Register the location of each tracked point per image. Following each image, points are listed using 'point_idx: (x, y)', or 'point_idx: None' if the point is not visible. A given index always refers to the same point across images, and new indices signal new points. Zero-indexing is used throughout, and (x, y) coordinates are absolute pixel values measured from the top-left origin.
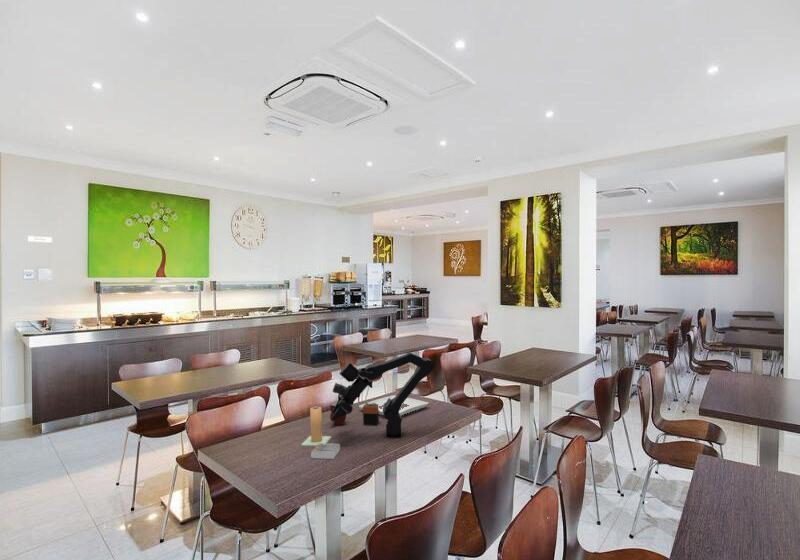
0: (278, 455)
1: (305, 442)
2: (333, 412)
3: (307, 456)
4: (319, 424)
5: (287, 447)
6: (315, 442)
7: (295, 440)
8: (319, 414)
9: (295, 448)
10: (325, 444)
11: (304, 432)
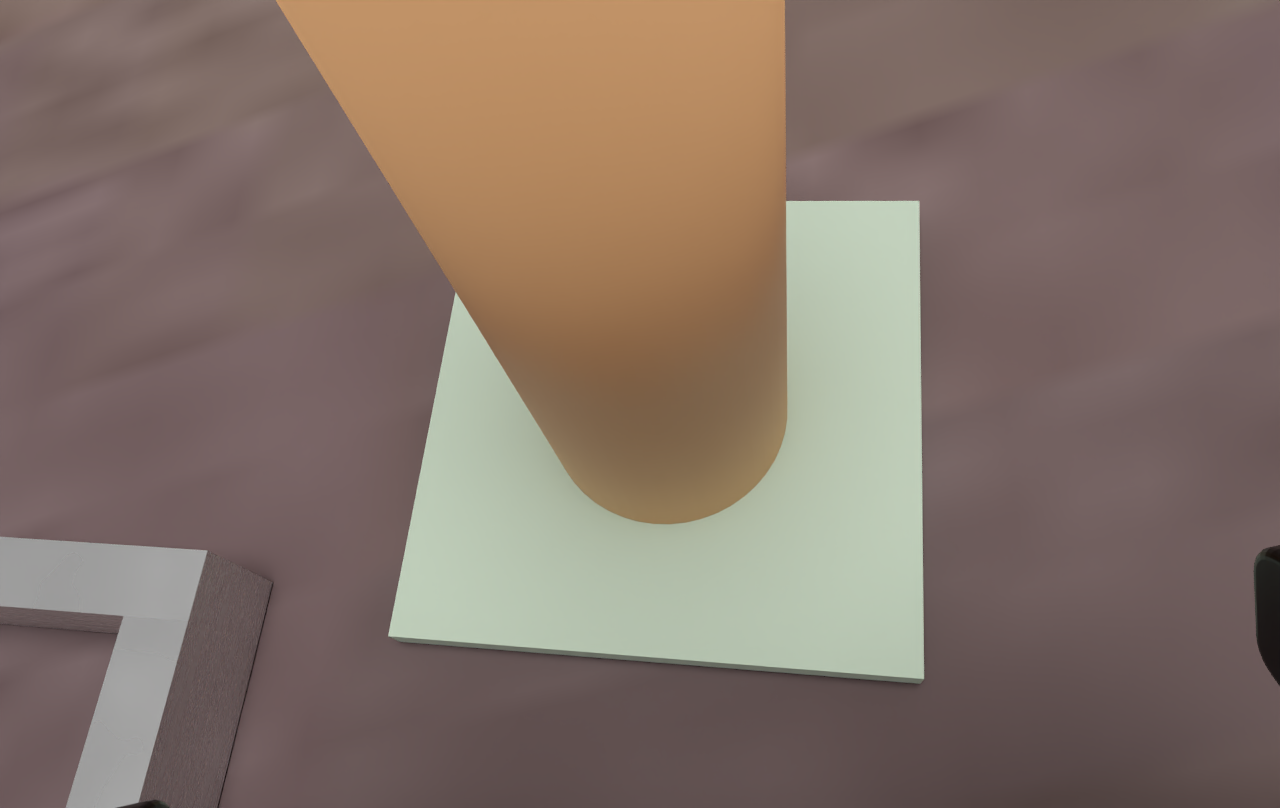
0: (165, 42)
1: None
2: (1275, 632)
3: (6, 461)
4: (487, 323)
5: None
6: None
7: None
8: (362, 112)
9: None
10: (101, 724)
11: (1179, 39)
